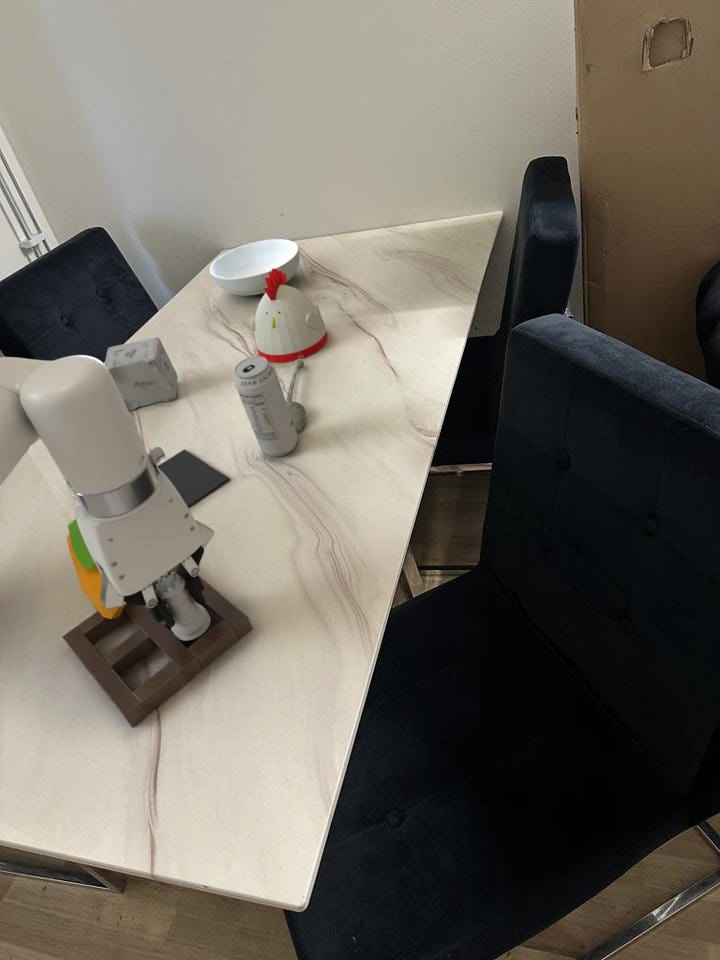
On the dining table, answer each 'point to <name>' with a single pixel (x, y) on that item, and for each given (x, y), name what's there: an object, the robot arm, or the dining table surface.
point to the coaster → (192, 477)
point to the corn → (88, 571)
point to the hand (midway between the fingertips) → (181, 607)
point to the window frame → (145, 642)
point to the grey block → (142, 372)
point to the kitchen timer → (287, 323)
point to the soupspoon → (294, 407)
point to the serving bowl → (254, 265)
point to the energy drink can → (265, 406)
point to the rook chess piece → (182, 608)
